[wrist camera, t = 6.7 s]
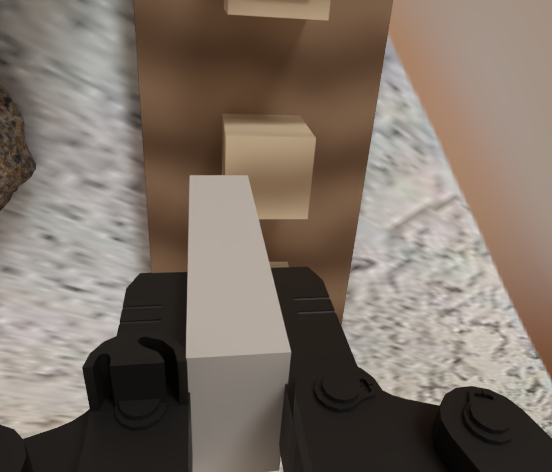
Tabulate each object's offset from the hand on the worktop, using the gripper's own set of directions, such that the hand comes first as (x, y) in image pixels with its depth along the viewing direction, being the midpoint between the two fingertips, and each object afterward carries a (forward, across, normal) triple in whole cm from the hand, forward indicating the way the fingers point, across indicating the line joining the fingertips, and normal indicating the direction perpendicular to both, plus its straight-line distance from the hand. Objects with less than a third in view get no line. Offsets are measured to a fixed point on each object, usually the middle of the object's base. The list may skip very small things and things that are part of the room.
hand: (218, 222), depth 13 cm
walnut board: (+21, +4, -5) cm, 22 cm away
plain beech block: (+19, +4, -5) cm, 20 cm away
